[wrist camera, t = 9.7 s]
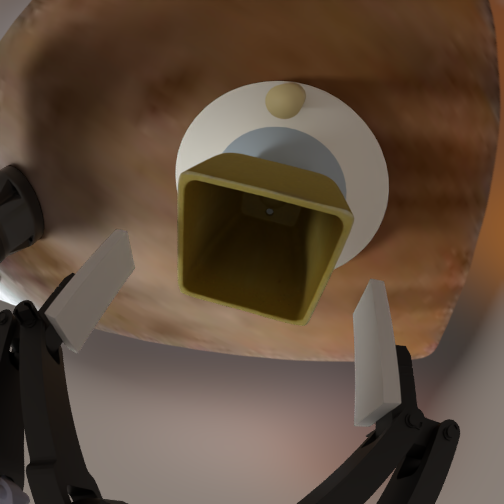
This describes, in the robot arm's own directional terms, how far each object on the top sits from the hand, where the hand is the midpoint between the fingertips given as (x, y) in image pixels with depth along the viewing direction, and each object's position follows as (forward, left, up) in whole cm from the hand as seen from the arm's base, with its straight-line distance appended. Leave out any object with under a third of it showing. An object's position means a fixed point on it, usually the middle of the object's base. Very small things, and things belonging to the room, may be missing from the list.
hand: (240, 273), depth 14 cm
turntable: (0, 0, -12) cm, 12 cm away
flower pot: (0, 0, -10) cm, 10 cm away
